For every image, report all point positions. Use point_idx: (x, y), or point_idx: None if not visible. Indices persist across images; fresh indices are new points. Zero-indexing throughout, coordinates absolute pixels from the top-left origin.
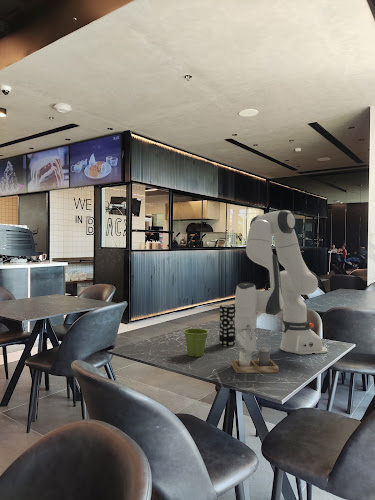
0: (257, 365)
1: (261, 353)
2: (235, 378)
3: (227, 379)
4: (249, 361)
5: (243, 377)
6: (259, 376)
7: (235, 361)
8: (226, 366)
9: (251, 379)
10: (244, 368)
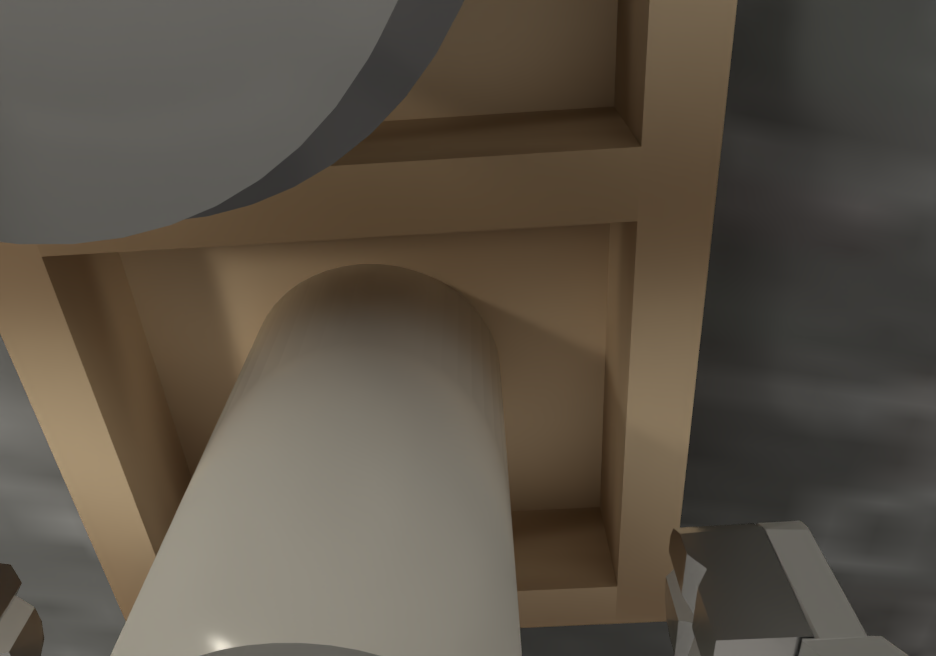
0: None
1: (408, 83)
2: None
3: None
4: (453, 408)
5: (769, 414)
6: (771, 89)
7: None
8: None
9: (913, 295)
10: (676, 473)
